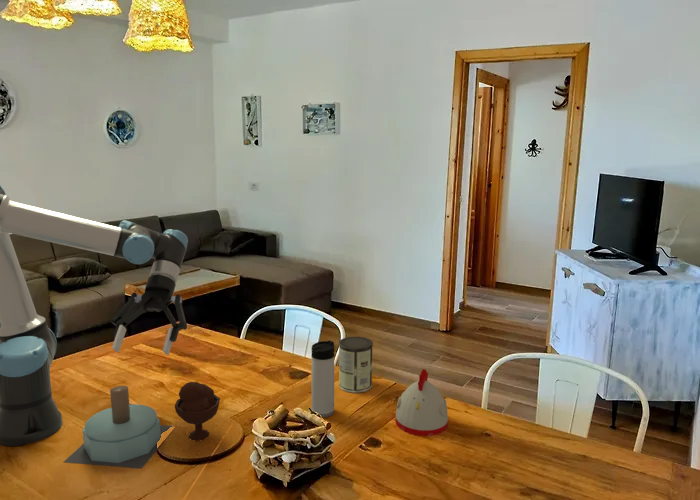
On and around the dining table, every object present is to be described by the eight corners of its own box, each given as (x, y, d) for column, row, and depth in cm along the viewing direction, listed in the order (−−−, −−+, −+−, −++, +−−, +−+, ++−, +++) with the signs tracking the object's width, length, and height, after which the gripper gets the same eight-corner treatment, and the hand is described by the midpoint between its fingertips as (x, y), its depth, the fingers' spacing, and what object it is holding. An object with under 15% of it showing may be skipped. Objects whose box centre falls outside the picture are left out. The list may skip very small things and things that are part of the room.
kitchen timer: (389, 430, 145) (390, 376, 142) (402, 406, 158) (404, 357, 155) (442, 440, 140) (444, 385, 137) (451, 415, 153) (454, 364, 150)
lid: (72, 459, 129) (66, 402, 127) (109, 424, 145) (105, 373, 142) (138, 464, 128) (134, 407, 125) (169, 428, 143) (166, 377, 141)
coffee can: (350, 375, 178) (350, 333, 175) (378, 383, 172) (379, 340, 169) (331, 387, 169) (332, 343, 166) (360, 396, 164) (361, 351, 161)
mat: (63, 463, 128) (63, 462, 128) (107, 422, 147) (107, 421, 147) (141, 470, 126) (141, 468, 126) (176, 427, 145) (176, 426, 145)
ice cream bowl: (210, 450, 134) (208, 393, 131) (168, 445, 136) (164, 388, 134) (228, 428, 145) (226, 374, 142) (188, 424, 147) (186, 370, 144)
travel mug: (339, 411, 154) (340, 343, 150) (322, 420, 149) (322, 350, 145) (323, 404, 158) (324, 337, 154) (306, 412, 154) (306, 344, 150)
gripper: (209, 288, 157) (191, 359, 145) (125, 285, 159) (101, 354, 148) (201, 274, 150) (182, 347, 139) (114, 271, 153) (88, 342, 141)
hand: (140, 351), depth 143 cm, fingers open, 13 cm apart
